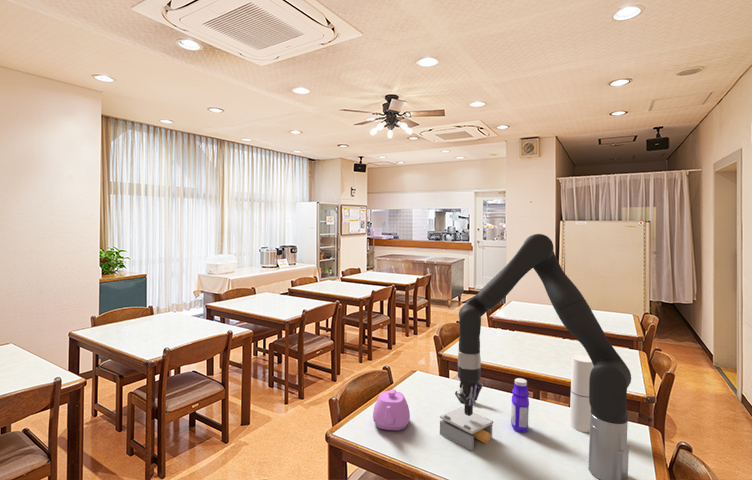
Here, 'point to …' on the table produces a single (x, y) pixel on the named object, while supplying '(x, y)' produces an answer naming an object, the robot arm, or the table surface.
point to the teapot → (391, 411)
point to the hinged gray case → (460, 434)
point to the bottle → (520, 406)
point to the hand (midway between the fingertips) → (468, 414)
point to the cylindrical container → (580, 393)
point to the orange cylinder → (481, 436)
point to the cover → (466, 420)
